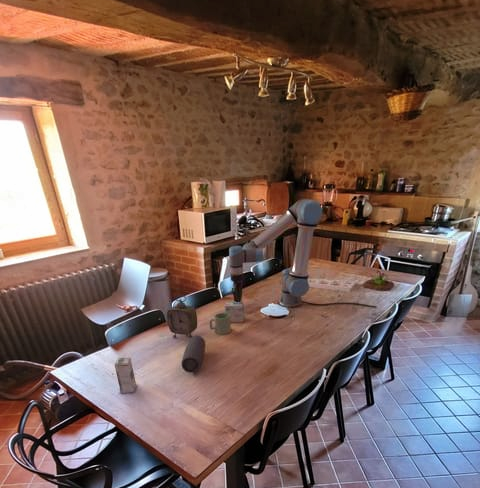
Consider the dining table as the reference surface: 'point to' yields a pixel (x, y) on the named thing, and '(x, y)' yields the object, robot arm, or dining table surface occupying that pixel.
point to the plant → (379, 283)
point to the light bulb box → (235, 311)
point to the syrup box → (125, 374)
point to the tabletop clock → (182, 318)
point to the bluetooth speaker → (193, 354)
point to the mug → (221, 323)
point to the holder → (332, 284)
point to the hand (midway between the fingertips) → (238, 311)
